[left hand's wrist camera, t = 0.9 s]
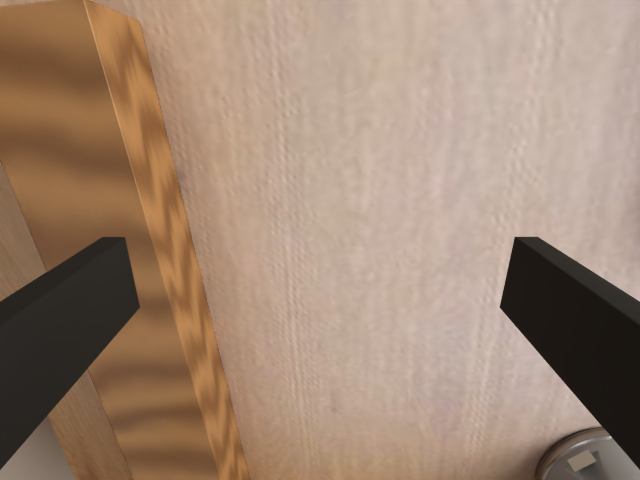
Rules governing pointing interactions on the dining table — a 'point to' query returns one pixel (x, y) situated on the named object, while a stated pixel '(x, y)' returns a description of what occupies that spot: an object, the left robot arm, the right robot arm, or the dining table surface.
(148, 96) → the wide beam
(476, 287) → the dining table surface
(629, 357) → the left robot arm
